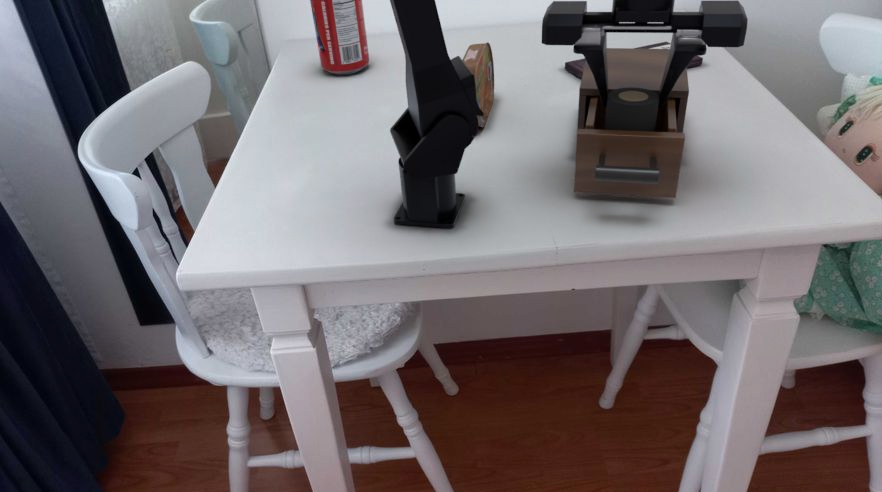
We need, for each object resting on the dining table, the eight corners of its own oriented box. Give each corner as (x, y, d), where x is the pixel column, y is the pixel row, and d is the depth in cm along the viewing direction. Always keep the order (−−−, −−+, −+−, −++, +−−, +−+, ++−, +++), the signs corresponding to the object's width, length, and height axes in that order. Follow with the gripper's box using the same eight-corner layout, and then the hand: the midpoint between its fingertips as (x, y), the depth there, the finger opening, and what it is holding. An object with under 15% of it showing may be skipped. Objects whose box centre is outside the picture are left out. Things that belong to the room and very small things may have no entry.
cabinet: (678, 163, 80) (689, 91, 75) (575, 158, 83) (579, 88, 78) (675, 115, 90) (684, 49, 85) (584, 112, 93) (588, 47, 88)
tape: (654, 140, 71) (659, 106, 69) (602, 137, 72) (606, 103, 70) (654, 121, 75) (659, 88, 73) (605, 118, 76) (609, 86, 74)
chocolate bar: (565, 62, 106) (666, 41, 110) (564, 68, 106) (665, 47, 111) (596, 81, 99) (702, 58, 103) (595, 87, 99) (702, 64, 104)
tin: (480, 138, 89) (478, 73, 84) (456, 137, 90) (452, 73, 84) (496, 92, 101) (495, 34, 96) (475, 92, 101) (472, 34, 96)
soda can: (350, 80, 109) (335, -22, 100) (312, 73, 112) (294, -26, 104) (379, 63, 114) (368, -35, 105) (342, 58, 118) (327, -38, 109)
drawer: (676, 219, 69) (686, 156, 65) (570, 212, 71) (573, 151, 67) (673, 145, 82) (681, 89, 78) (582, 141, 84) (586, 87, 80)
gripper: (749, -76, 68) (721, 80, 77) (556, -71, 72) (551, 76, 81) (763, -50, 59) (729, 122, 68) (542, -46, 64) (539, 115, 73)
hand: (632, 106), depth 73 cm, fingers closed on tape, 5 cm apart
